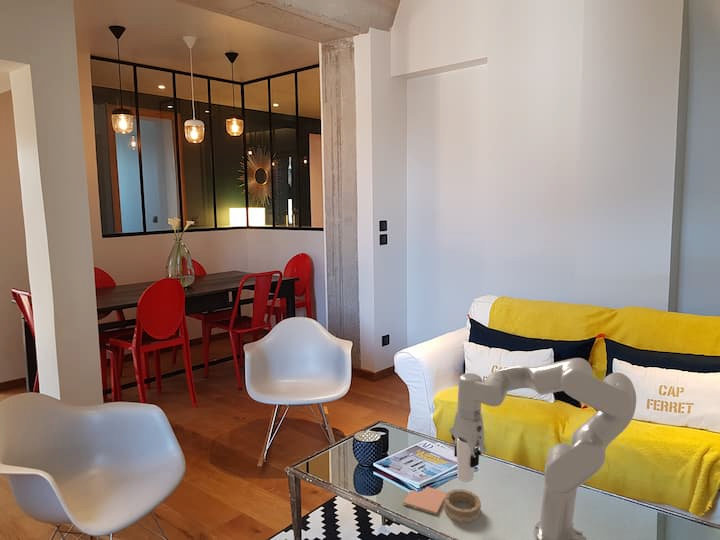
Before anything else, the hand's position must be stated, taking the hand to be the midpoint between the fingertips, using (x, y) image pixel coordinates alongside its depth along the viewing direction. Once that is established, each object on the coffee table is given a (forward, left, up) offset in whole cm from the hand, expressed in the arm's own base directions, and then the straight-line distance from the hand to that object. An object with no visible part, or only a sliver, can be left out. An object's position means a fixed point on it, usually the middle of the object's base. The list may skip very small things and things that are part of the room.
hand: (466, 460), depth 185 cm
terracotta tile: (+13, 0, -19) cm, 23 cm away
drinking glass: (0, 0, -7) cm, 7 cm away
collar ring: (0, 0, -19) cm, 19 cm away
